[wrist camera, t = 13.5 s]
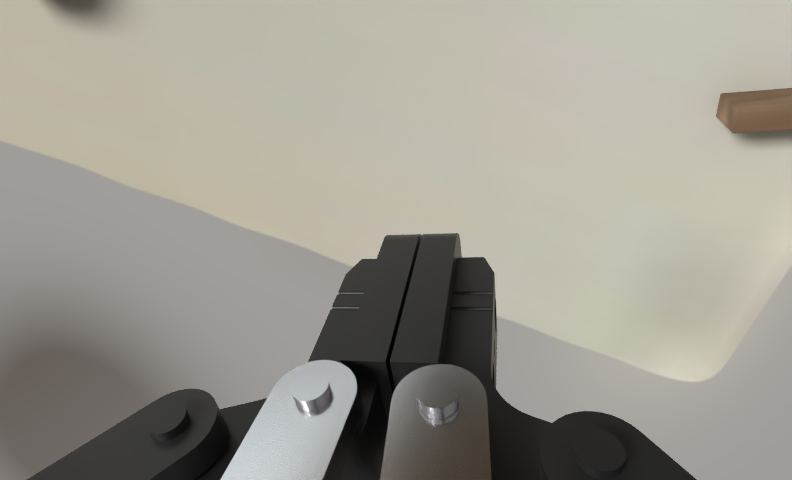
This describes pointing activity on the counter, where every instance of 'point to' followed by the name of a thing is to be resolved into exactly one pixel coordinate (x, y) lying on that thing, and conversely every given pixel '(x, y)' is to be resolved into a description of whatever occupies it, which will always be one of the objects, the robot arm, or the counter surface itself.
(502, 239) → the counter surface
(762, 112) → the track
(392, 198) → the counter surface
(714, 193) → the counter surface
